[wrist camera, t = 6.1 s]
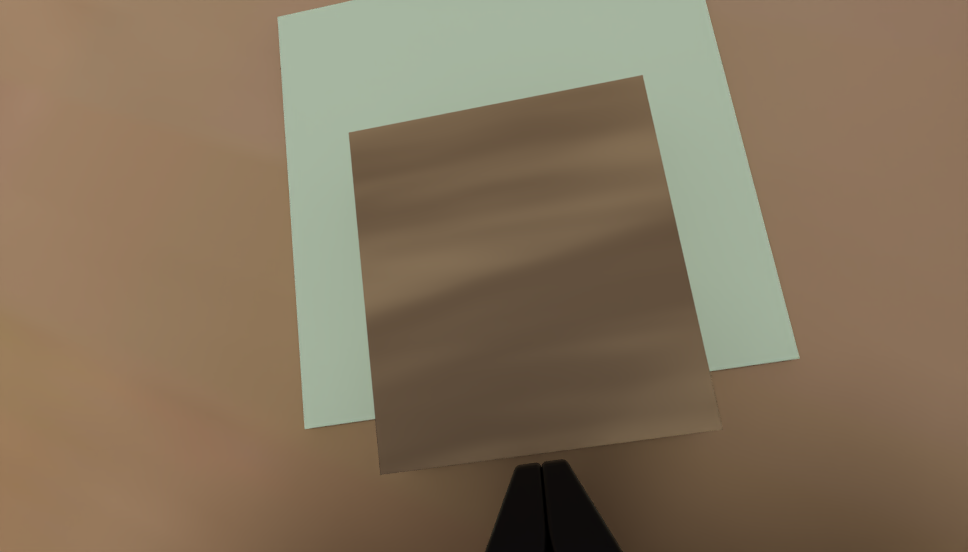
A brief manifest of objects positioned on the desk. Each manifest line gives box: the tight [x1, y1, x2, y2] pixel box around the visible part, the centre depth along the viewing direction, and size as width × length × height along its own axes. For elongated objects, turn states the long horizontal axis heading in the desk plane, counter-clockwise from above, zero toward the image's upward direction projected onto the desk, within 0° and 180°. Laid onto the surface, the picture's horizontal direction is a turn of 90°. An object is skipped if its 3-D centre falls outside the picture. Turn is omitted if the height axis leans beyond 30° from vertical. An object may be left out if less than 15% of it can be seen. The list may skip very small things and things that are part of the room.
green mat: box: [278, 0, 799, 429], centre depth 17 cm, size 14×14×1 cm
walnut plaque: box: [349, 75, 723, 475], centre depth 15 cm, size 2×8×9 cm
